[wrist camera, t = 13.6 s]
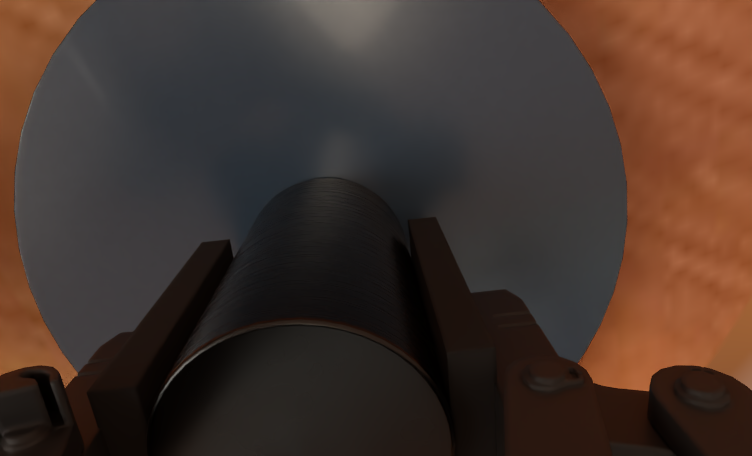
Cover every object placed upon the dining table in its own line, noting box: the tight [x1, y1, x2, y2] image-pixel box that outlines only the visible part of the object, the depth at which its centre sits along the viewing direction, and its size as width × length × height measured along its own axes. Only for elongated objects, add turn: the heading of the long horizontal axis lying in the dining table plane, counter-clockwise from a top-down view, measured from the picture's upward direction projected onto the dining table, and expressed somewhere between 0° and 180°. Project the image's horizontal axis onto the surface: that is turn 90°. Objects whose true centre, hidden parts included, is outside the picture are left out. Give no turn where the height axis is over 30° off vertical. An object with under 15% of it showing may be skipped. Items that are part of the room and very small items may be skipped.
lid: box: [14, 0, 627, 456], centre depth 13 cm, size 18×18×10 cm
